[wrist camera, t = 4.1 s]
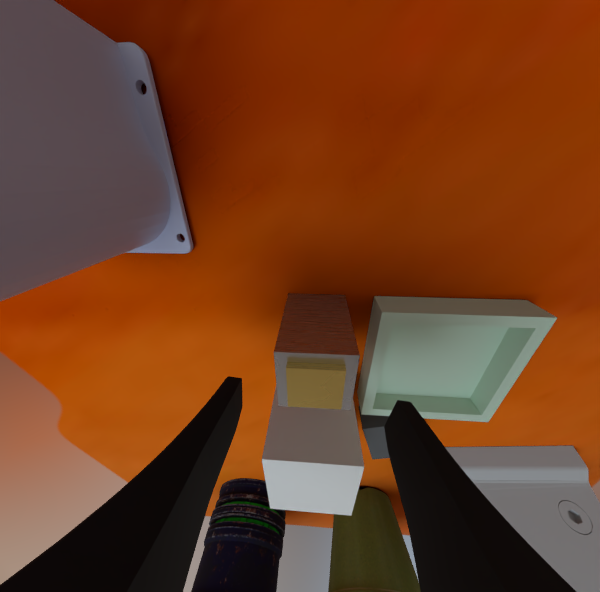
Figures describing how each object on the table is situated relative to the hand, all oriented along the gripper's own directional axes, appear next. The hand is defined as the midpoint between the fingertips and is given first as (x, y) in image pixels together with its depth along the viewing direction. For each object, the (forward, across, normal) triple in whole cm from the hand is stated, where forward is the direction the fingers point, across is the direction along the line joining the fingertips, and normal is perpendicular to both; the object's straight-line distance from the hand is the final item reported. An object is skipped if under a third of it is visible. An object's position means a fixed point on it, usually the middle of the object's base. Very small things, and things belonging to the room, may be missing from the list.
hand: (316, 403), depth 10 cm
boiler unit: (+7, -1, +9) cm, 11 cm away
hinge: (+8, -20, +17) cm, 27 cm away
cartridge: (+7, 0, 0) cm, 7 cm away
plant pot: (+7, -10, +28) cm, 31 cm away
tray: (+7, -9, +2) cm, 12 cm away
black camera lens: (+7, +4, +32) cm, 33 cm away
